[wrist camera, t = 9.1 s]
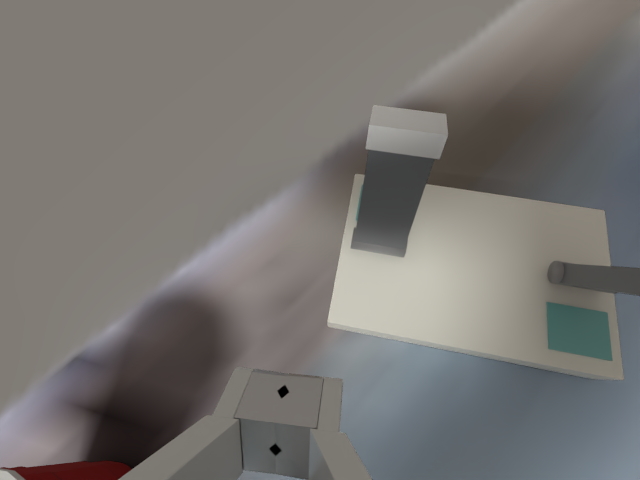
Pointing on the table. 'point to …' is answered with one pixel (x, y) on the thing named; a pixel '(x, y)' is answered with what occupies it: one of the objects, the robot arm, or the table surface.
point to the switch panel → (485, 283)
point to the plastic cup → (68, 471)
